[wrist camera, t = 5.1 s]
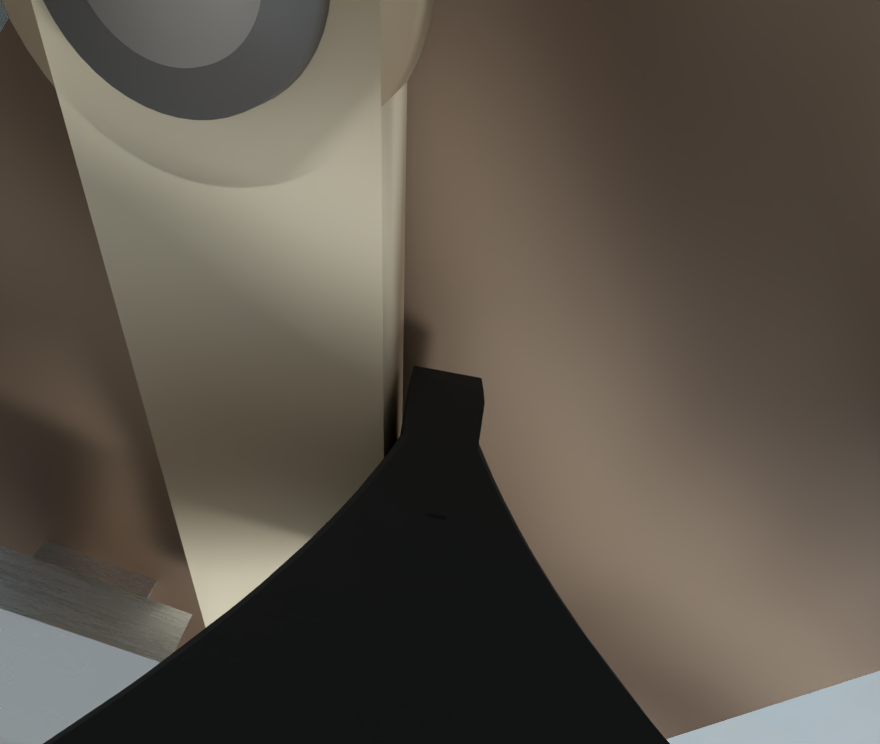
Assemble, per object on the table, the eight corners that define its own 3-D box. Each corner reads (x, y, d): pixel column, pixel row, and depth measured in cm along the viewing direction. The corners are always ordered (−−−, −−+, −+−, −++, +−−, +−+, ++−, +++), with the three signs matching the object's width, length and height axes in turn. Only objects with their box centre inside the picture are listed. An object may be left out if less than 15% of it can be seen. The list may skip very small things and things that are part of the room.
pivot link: (78, -256, 6) (-210, -439, 3) (446, -242, 6) (414, -418, 3) (248, 587, 13) (192, 722, 10) (414, 602, 12) (397, 743, 10)
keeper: (15, 392, 10) (-175, 549, 7) (252, 489, 11) (167, 665, 8) (-11, 575, 13) (-156, 741, 10) (179, 641, 14) (96, 811, 11)
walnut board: (563, -811, 5) (580, -994, 4) (1142, 526, 11) (1196, 568, 11) (-184, 415, 12) (-233, 445, 11) (429, 780, 19) (426, 815, 18)
